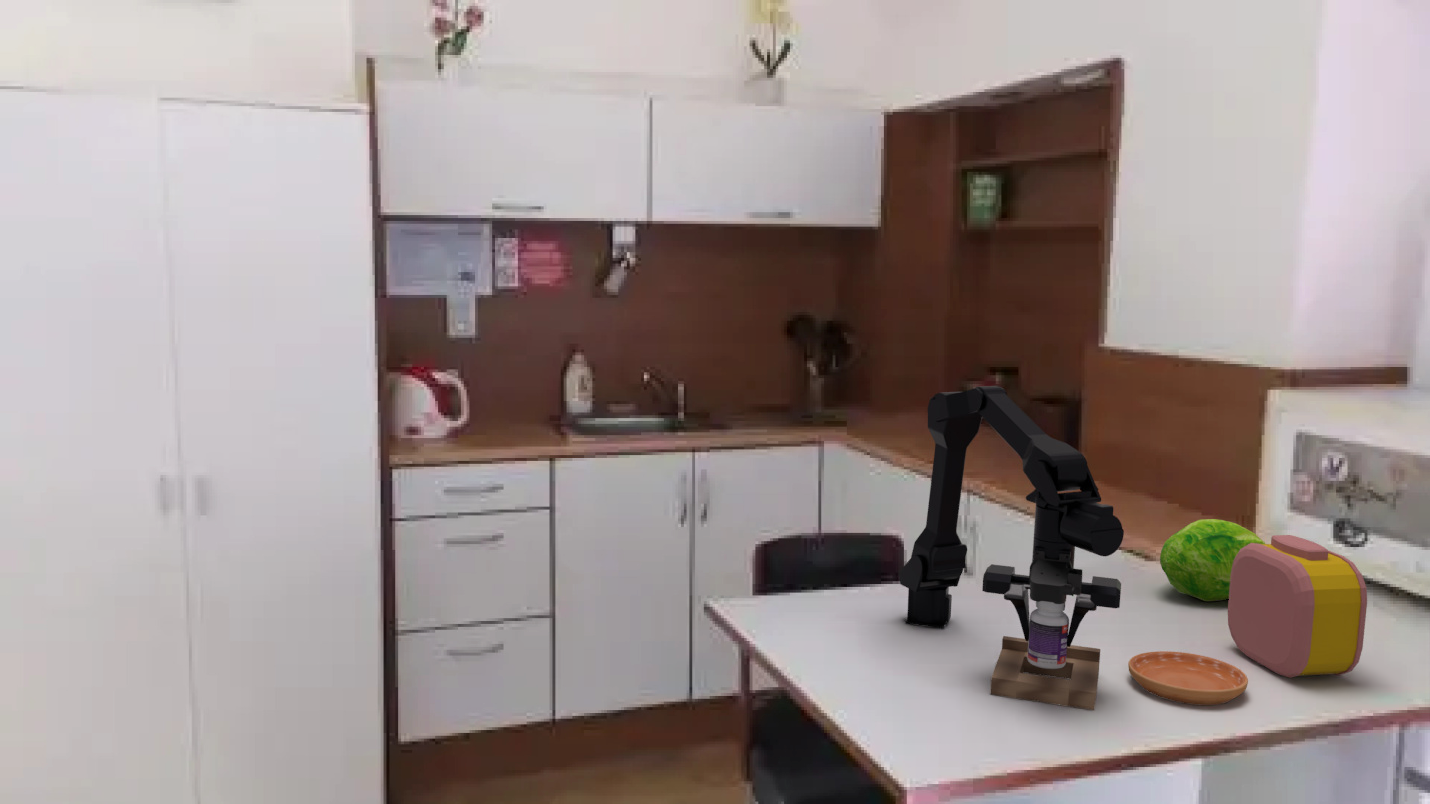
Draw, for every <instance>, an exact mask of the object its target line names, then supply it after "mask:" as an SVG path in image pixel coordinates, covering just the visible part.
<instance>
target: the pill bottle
mask: <svg viewBox="0 0 1430 804" xmlns="http://www.w3.org/2000/svg"><path fill="white" fill-rule="evenodd" d="M1035 607H1036V609H1034V610H1032V611H1031V612H1030V614H1029V619H1030V626H1029V641H1028V655H1027V659H1028V662H1029V663H1031V664H1032V665H1034V666H1036V667H1040V668H1045V669H1059V668H1062V667H1064V666H1065V664H1066V654H1067V639H1068V633H1069V628H1070V618H1069V616H1068V615H1067V614H1066V613H1065V612H1064V611H1065V609H1066V602H1065V603H1063V604H1054V603H1053V602H1046V601H1040V602H1037V601H1035Z"/></svg>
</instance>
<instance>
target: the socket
mask: <svg viewBox="0 0 1430 804" xmlns="http://www.w3.org/2000/svg"><path fill="white" fill-rule="evenodd" d="M1027 655H1028V641H1026V640H1025V638H1022V637H1021V638H1020V637H1015V636H1014V637H1013V636H1005V635H1003V637H1002V641H1001V650H1000V652H999V655H998V658H997V661H996V663H995V666H994V668H993V669H994V670H993V672H992V673H991V674H992V675H991V678H990V695H993V696H1000V697H1005V698H1010V699H1011V698H1012V699H1018V700H1025V701H1030V702H1031V701H1033V702H1037V701H1038V702H1037V703H1045V704H1051V705H1057V704H1060V705H1059V706H1064V707H1071V708H1078V709H1085V710H1090V711H1096V710H1095V709H1096V701H1097V692H1098V684H1099V674H1100V659H1101V649H1100V648H1095V647H1088V646H1082V645H1081V646H1080V645H1074V644H1071V645H1070V647H1067V654H1066V664H1065V666H1064V667H1062V668H1059V669H1045V668H1040V667H1036V666H1034V665H1032V664H1031V663H1029V662H1028V659H1027Z"/></svg>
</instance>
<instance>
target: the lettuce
mask: <svg viewBox="0 0 1430 804" xmlns="http://www.w3.org/2000/svg"><path fill="white" fill-rule="evenodd" d="M1250 543H1257V544H1266V542H1265V541H1264V540H1263V539H1261V538H1260V536H1258V535H1257V534H1256V533H1255V532H1253V531H1251V530H1249V529H1247V528H1245V527H1243V526H1241V525H1240V524H1238V523H1236V522H1233V521H1227V520H1223V519H1215V518H1213V519H1212V518H1210V519H1207V518H1206V519H1205V518H1204V519H1197V520H1195V521H1193V522H1191V523H1188V525H1186V526H1185V527H1183V528H1181V529H1180V530H1178V531H1177V532H1175V533H1173V534H1172V535H1171V536H1169V538H1167V539H1166V540H1165V541H1164V543H1163V546H1162V548H1161V551H1160V556H1159V563H1160V567H1161V569H1162V571H1163V573H1164V574H1165V575H1166V578H1167V580H1168V582H1169V583H1170V585H1171V586H1173V588H1174V589H1176V591H1177V592H1178V593H1181V594H1183V595H1186V596H1189V597H1193V598H1196V599H1199V600H1202V601H1204V602H1214V601H1215V602H1216V601H1217V600H1219V601H1227V600H1226V599H1229V589H1230V577H1231V570H1232V565H1233V561H1234V559H1235V557H1236V555H1237V554H1238V552H1239V551H1240V549H1242V548H1243V547H1245V546H1247V545H1248V544H1250ZM1217 602H1218V601H1217Z"/></svg>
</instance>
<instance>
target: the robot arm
mask: <svg viewBox="0 0 1430 804" xmlns="http://www.w3.org/2000/svg"><path fill="white" fill-rule="evenodd" d="M1007 393H1008V392H1007V391H1006V389H1005V388H1003V387H1000V386H999V385H985V386H981V385H980V386H975V387H973V388H971V389H968V390H965V391H949V392H947V391H946V392H938V393H935V394H934V395H933V397H930V399H929V401H928V403H927V404H928V405H927V429H928V431H929V433H930V435H931V437H932V439H933V442H934V444H935V445H934V453H933V464H932V469H931V470H932V473H931V478H930V479H931V480H930V488H929V489H930V490H929V495H928V496H929V498H928V506H927V513H926V515H927V516H926V524H925V527H924V528H923V530H922V532H921V533H920V534H919V535H918V537H917V538H916V539H915V541H914V543H913V547H912V548H913V549H912V551H911V556H910V559H909V560H908V561H907V562H906V563H905V564H904V565H903V566H902V568H901V569H900V570H899V571H898V577H899V584H900V585H901V586H902V587H905V588H907V589H908V593H907V594H908V596H907V616H906V618H905V619H904V623H905V624H906V625H907V624H908V625H913V626H922V627H929V628H934V629H935V628H937V629H944V628H945V627H946V625H947V623H948V622H949V621H950V620H951V618H952V604H953V603H952V599H953V598H952V594H951V593H949V592H950V591H949V589H950V588H949V587H951V588H952V587H954V588H955V587H958V586H959V582H960V579H961V576H962V574H963V571H964V569H967V564H966V557H967V554H968V546H967V545H966V544H964V543H962V541H961V539H960V536H959V535H958V533H957V529H958V520H959V514H960V512H959V511H960V507H961V506H960V505H961V499H962V498H961V496H962V490H963V488H962V487H963V480H964V473H965V464H966V458H967V457H966V455H967V449H968V447H969V446H970V445H971V443H972V442H973V440H974V439H975V438H976V436H977V435H978V433H979V431H980V427H981V423H982V419H984V420H985V422H987V424H988V425H989V426H991V428H992V429H993V430H994V431H995V432H996V433H997V434H998V435H999V436H1000V437H1001V438H1002V439H1003V441H1004V442H1005V443H1007V444H1008V446H1009V447H1010V448H1012V450H1013V451H1014V452H1015V453H1016V454H1017V455H1018V456H1019V457H1020V459H1021V460H1022V461H1021V462H1022V471H1023V473H1024V474H1025V476H1026V478H1027V479H1028V480H1029V481H1030V483H1031V484H1032V486H1033V488H1034V490H1033V491H1031V492H1030V493H1028V494H1026V496H1025V500H1026V501H1027V502H1031V503H1032V504H1033V503H1034V504H1035V510H1034V512H1035V513H1034V526H1033V527H1034V528H1033V543H1032V559H1031V563H1030V566H1029V574H1028V575H1025V574H1017V573H1016V567H1015V566H1011V565H1010V566H1008V565H1003V564H1002V565H1001V564H990V565H989V566H988V567H986V569H985V572H984V573H983V578H982V588H981V589H982V590H981V591H982V592H985V593H988V594H989V593H990V594H996V595H997V594H998V595H1003V599H1004V600H1005V601H1010V602H1011V604H1012V605H1013V606H1014V608H1015V611H1016V613H1017V616H1018V618H1019V623H1020V627H1021V630H1022V633H1023V637H1024V639H1025V640H1026V641H1029V626H1030V604H1029V603H1030V602H1029V601H1030V600H1032V601H1034V602H1036V601H1037V602H1040V601H1046V602H1053V603H1054V604H1063V603H1065V604H1066V601H1067V596H1076V597H1075V601H1074V606H1073V612H1072V614H1071V620H1070V623H1069V629H1068V639H1067V647H1070V645H1072V643H1073V640H1074V638H1075V636H1076V634H1077V631H1078V629H1079V627H1080V624H1081V622H1082V621H1083V618H1084V617H1085V616H1086V615H1087V613H1088V612H1090V611H1091V612H1094V611H1095V612H1096V610H1098V609H1097V607H1100V608H1109V609H1120V605H1121V595H1122V594H1121V591H1122V583H1121V582H1120V580H1119V579H1118V578H1112V577H1104V576H1103V577H1102V576H1095V575H1093V576H1092V578H1091V580H1092V581H1091V582H1085V581H1083V569H1080V568H1075V566H1074V565H1075V551H1076V548H1079V549H1080V550H1084V551H1085V552H1089V553H1092V554H1095V555H1097V556H1100V557H1109V556H1111V555H1113V554H1114V553H1116V552H1117V551H1118V549H1119V548H1120V546H1121V545H1122V543H1123V541H1124V540H1123V539H1124V534H1125V530H1124V529H1123V525H1122V523H1121V522H1122V521H1120V519H1119V518H1118V517H1117V516H1116V515H1114V507H1113V505H1109V504H1106V503H1105V504H1103V503H1102V504H1101V502H1102V497H1101V495H1100V492H1099V488H1098V486H1097V484H1096V483H1095V480H1094V477H1093V475H1092V473H1091V471H1090V468H1089V466H1088V461H1087V459H1086V457H1085V456H1084V455H1083V453H1082V452H1080V451H1079V450H1078V449H1076V448H1075V447H1073V446H1071V445H1070V444H1068V443H1066V442H1064V441H1062V440H1058V439H1055V438H1053V437H1051V436H1049V435H1048V434H1047V433H1045V431H1043V430H1042V429H1041V427H1040V426H1039V425H1037V424H1036V423H1035V422H1034V421H1033V419H1031V418H1030V417H1029V415H1027V414H1026V413H1025V412H1024V410H1022V408H1020V407H1019V406H1018V405H1017V404H1016V403H1015V402H1014V401H1013V400H1012V399H1011V398H1010V397H1009V396H1008V394H1007ZM1078 490H1079V491H1078ZM1029 599H1030V600H1029Z"/></svg>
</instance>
